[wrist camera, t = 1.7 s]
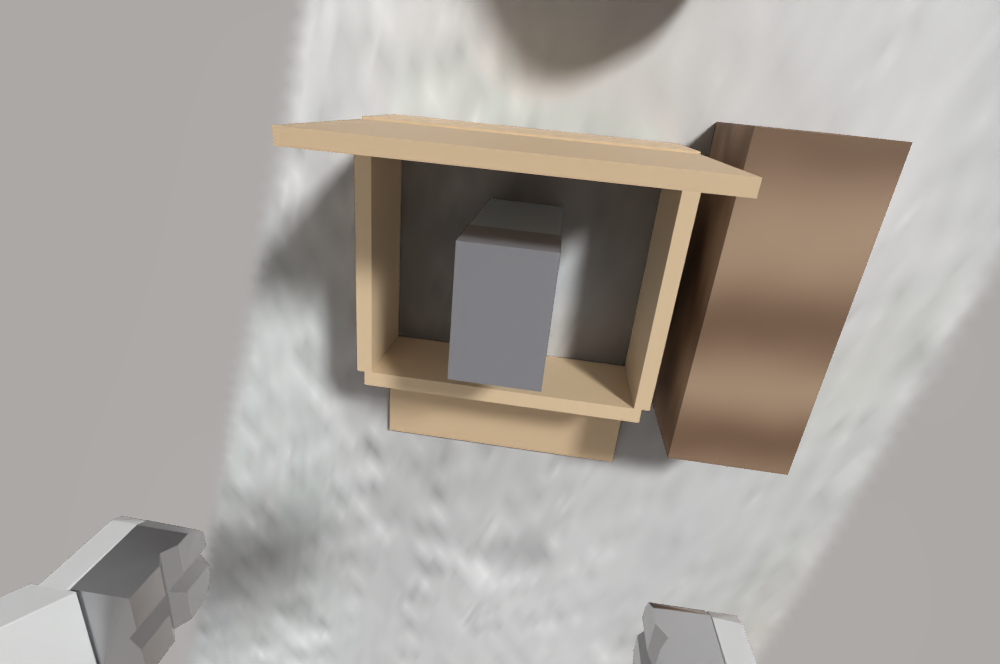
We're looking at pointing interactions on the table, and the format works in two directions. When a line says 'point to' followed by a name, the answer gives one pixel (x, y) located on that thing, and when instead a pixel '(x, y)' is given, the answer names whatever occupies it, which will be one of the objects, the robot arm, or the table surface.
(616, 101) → the table surface
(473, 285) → the blue-grey rectangular block
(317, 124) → the light wooden open box
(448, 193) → the table surface
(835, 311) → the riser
